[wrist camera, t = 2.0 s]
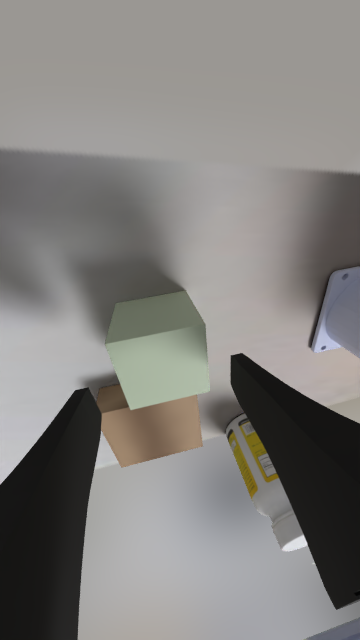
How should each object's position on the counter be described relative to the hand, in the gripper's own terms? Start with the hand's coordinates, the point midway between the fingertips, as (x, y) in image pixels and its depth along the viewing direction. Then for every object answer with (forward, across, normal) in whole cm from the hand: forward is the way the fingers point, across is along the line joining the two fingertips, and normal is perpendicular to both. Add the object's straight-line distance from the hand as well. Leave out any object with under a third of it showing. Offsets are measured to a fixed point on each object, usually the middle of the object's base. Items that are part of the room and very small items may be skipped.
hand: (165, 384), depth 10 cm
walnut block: (+6, +2, +9) cm, 11 cm away
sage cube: (+6, 0, 0) cm, 6 cm away
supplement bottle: (+6, -8, +16) cm, 19 cm away
